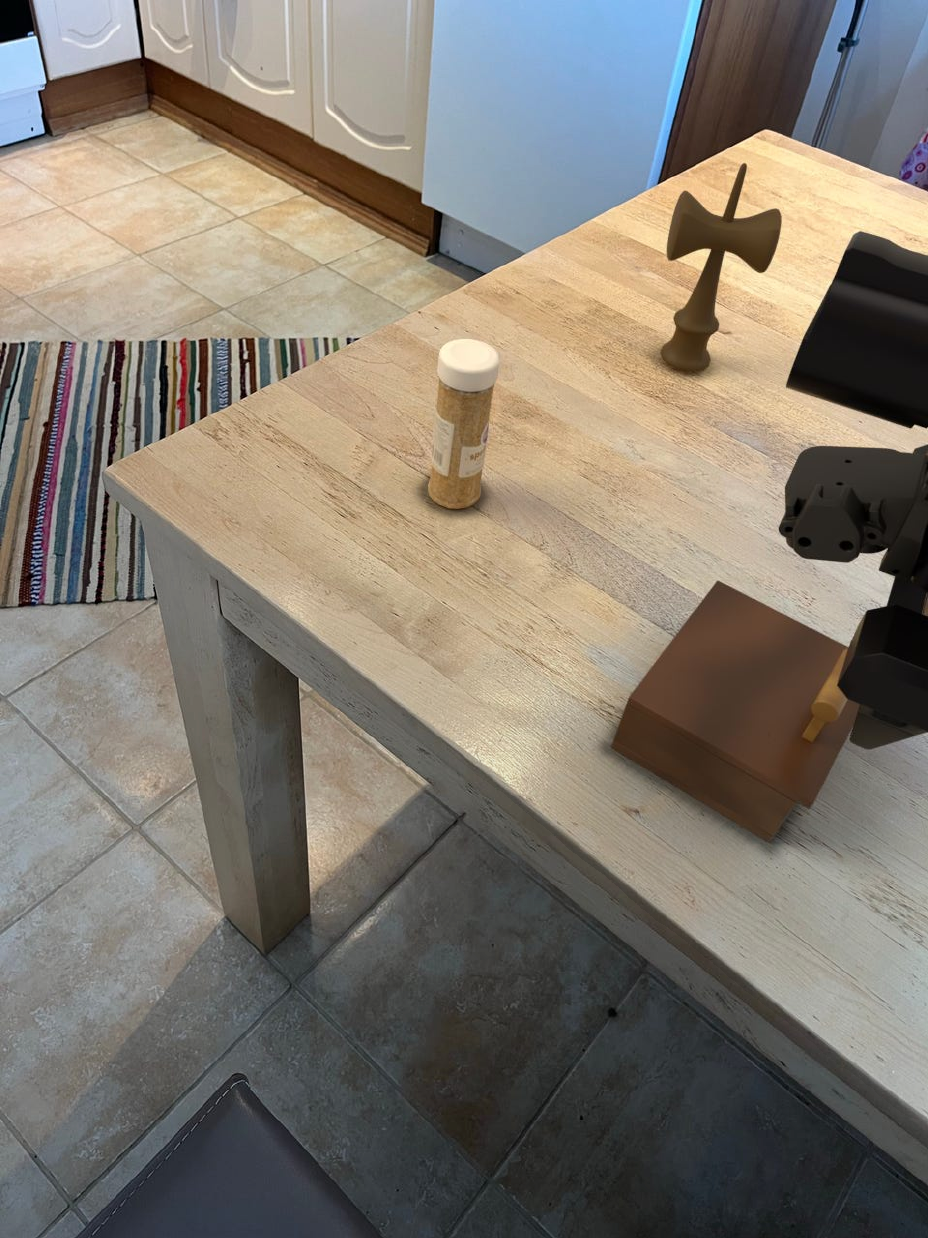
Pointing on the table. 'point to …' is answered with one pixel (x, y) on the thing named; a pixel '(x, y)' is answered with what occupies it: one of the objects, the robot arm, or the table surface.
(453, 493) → the spice jar
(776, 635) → the lid
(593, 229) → the table surface
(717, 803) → the keepsake box
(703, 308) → the kendama
